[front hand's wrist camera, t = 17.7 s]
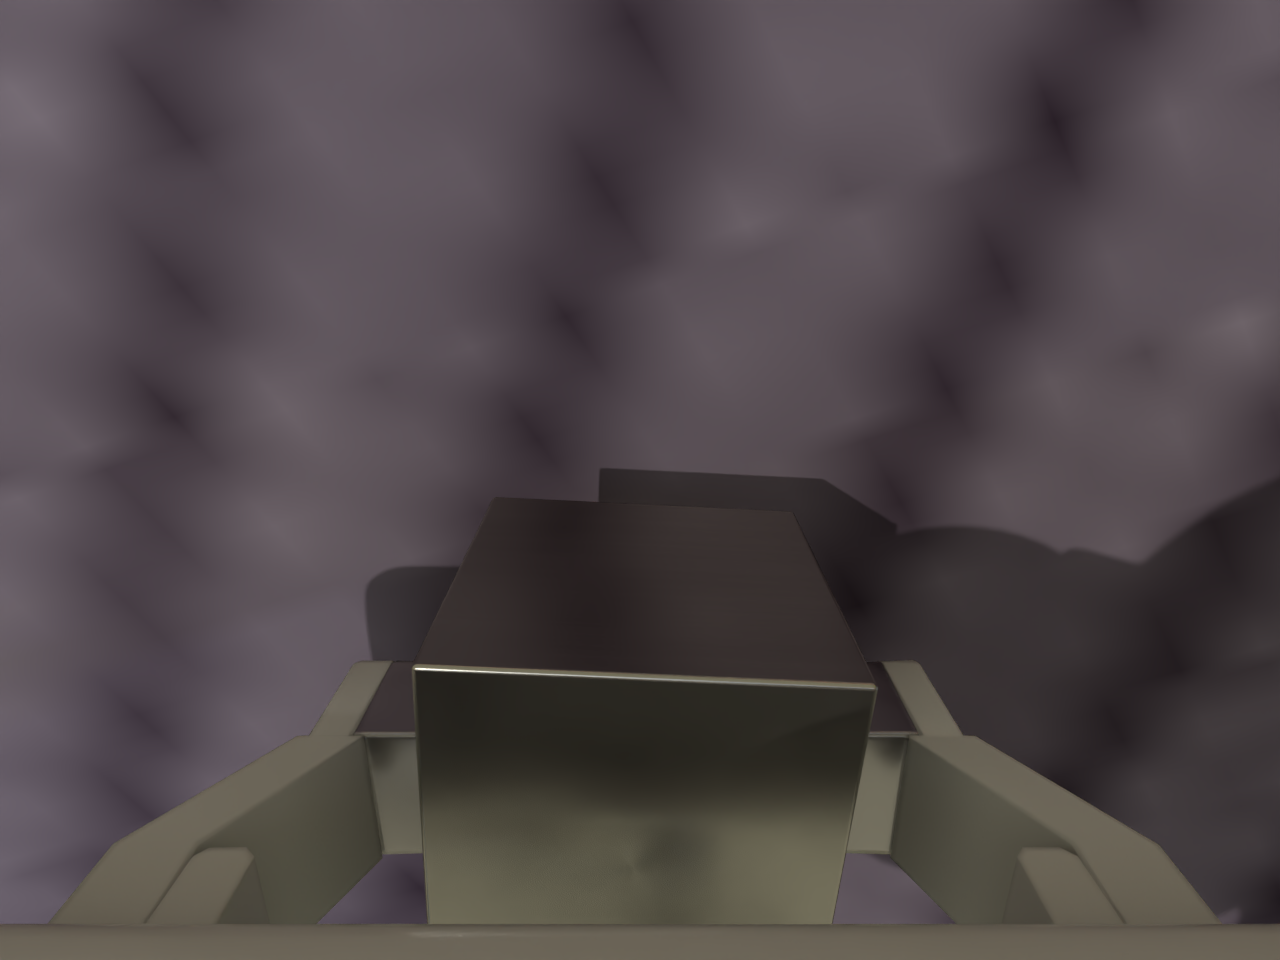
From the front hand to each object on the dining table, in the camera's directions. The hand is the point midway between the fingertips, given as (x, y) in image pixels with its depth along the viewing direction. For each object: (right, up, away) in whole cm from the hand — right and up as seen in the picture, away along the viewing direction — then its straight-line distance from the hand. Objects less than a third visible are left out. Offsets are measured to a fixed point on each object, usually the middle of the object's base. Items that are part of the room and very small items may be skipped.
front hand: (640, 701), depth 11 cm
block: (0, 0, +2) cm, 2 cm away
